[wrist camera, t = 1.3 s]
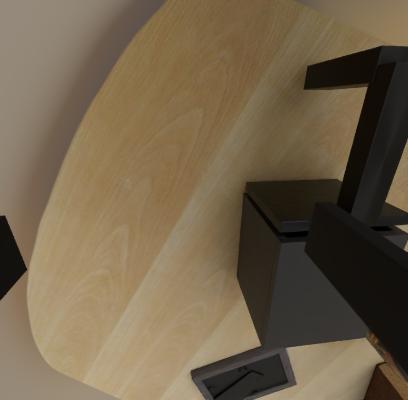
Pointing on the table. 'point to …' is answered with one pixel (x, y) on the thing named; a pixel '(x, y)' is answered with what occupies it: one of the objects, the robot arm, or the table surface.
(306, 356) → the table surface
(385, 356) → the jar
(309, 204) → the fryer drawer
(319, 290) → the box
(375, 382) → the bread
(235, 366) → the picture frame
